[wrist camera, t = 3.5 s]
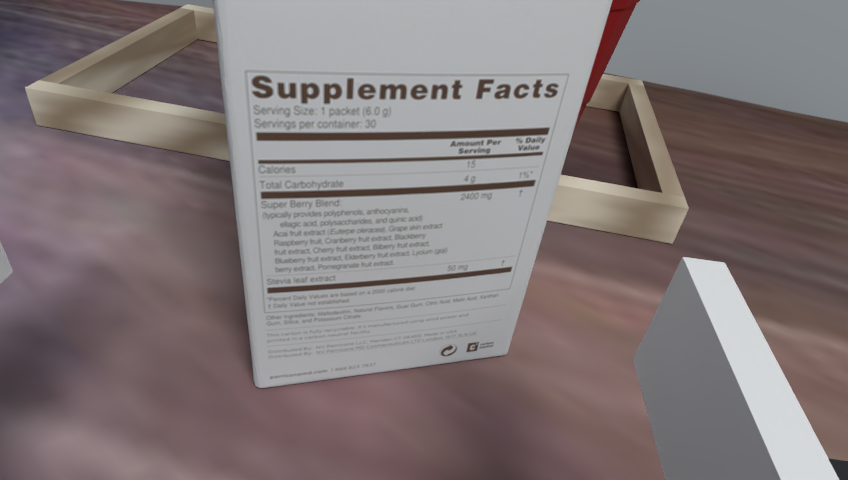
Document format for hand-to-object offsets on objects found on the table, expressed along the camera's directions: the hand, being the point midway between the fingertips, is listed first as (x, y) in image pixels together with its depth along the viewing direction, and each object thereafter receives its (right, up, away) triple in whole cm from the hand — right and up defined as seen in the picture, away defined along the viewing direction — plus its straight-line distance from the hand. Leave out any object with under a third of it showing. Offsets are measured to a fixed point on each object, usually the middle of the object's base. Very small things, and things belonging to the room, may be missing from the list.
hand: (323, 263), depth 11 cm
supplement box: (0, -2, +12) cm, 12 cm away
